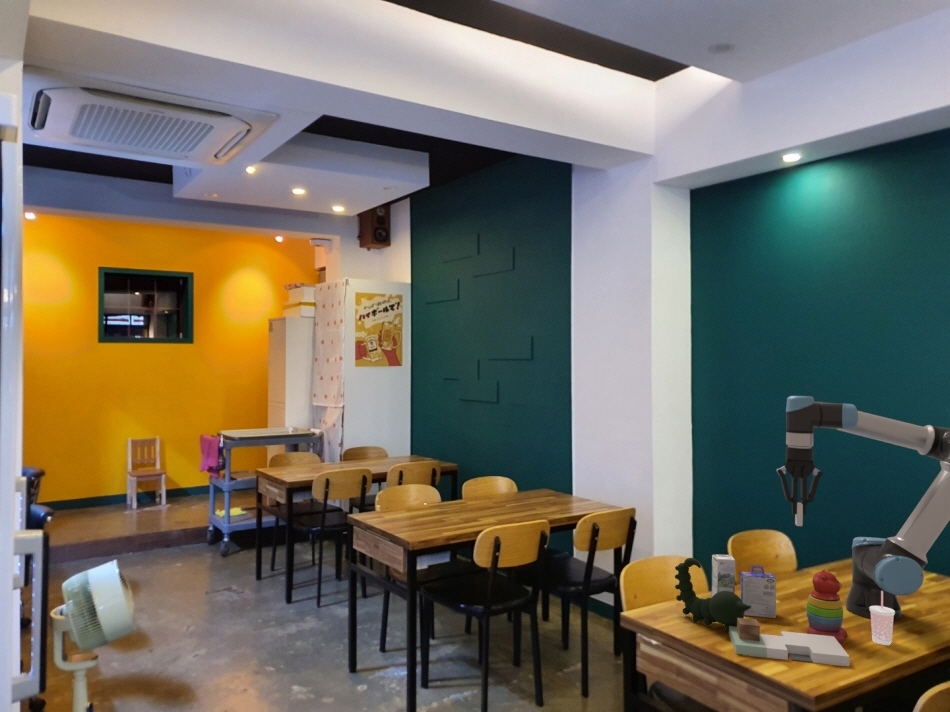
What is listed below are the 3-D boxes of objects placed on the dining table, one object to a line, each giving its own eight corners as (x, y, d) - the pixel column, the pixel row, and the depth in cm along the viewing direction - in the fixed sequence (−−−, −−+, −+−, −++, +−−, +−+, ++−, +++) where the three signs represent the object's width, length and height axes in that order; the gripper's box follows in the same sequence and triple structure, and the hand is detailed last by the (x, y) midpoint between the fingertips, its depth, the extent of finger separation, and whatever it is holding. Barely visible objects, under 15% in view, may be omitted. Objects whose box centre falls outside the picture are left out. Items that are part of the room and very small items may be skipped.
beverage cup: (888, 647, 187) (888, 595, 187) (865, 640, 192) (865, 589, 192) (898, 643, 191) (898, 592, 191) (875, 636, 196) (875, 586, 196)
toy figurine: (670, 621, 209) (741, 641, 188) (667, 557, 211) (736, 570, 190) (691, 616, 214) (762, 635, 193) (687, 553, 216) (758, 565, 195)
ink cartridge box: (773, 612, 213) (773, 565, 214) (777, 618, 208) (777, 570, 208) (739, 609, 215) (739, 563, 216) (742, 615, 210) (743, 568, 210)
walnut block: (756, 634, 188) (756, 619, 188) (759, 641, 183) (759, 625, 183) (737, 632, 189) (737, 617, 189) (739, 639, 184) (739, 624, 184)
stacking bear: (844, 645, 188) (845, 579, 189) (803, 637, 194) (804, 573, 194) (847, 633, 197) (847, 570, 198) (808, 625, 203) (809, 564, 203)
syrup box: (728, 598, 226) (729, 554, 227) (735, 604, 221) (735, 558, 221) (711, 598, 227) (711, 553, 227) (717, 604, 221) (717, 558, 221)
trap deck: (833, 645, 188) (833, 636, 188) (849, 666, 174) (849, 656, 174) (729, 635, 194) (729, 626, 194) (736, 654, 180) (736, 644, 180)
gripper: (819, 446, 211) (819, 524, 210) (774, 444, 214) (773, 521, 213) (826, 449, 204) (825, 529, 203) (778, 447, 207) (778, 526, 206)
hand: (798, 525), depth 208 cm, fingers closed
